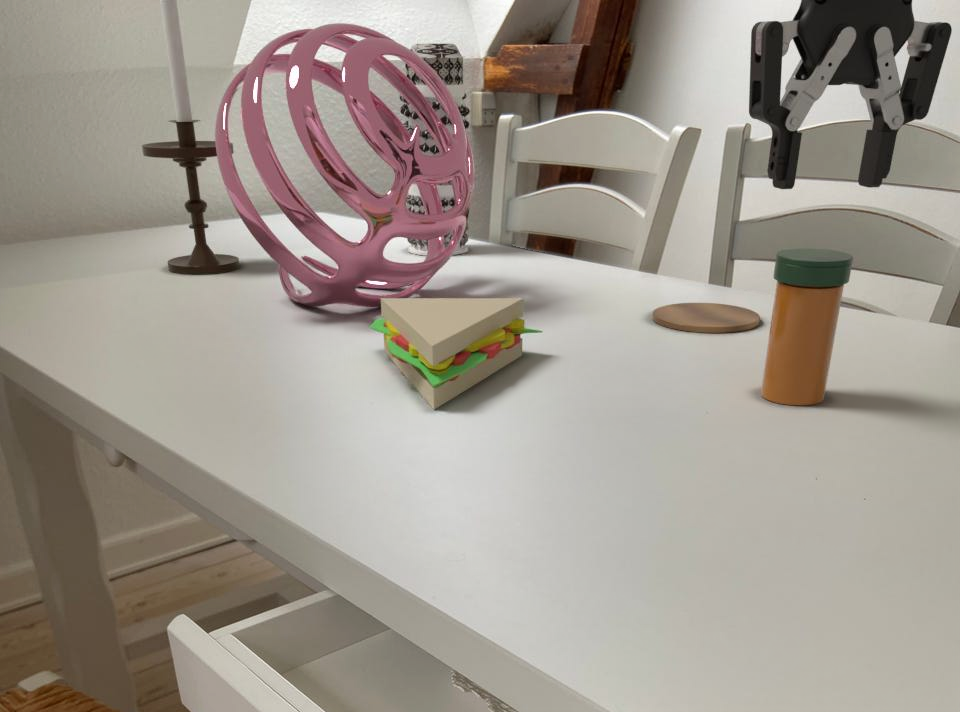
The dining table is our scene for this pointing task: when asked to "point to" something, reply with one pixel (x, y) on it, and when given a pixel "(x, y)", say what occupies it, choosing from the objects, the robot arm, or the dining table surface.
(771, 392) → the jar
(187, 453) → the dining table surface
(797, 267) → the lid
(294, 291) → the spiral basket
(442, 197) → the decorative candle
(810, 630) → the dining table surface
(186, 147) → the candlestick
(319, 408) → the dining table surface
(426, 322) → the sandwich
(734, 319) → the coaster
